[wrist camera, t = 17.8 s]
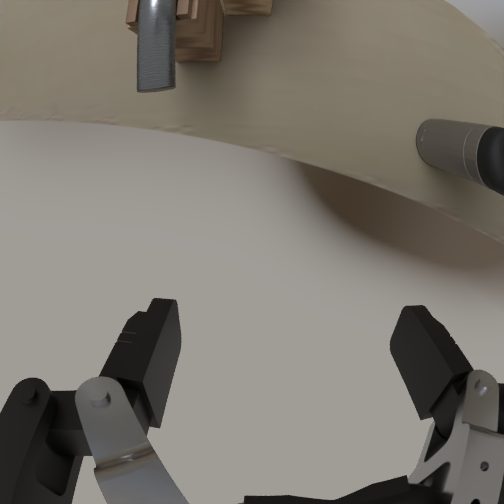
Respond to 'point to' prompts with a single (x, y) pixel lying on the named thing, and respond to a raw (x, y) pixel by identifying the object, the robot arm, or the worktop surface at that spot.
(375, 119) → the worktop surface
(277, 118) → the worktop surface
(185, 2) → the tall wooden post
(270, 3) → the stand
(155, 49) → the pin
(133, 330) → the robot arm
